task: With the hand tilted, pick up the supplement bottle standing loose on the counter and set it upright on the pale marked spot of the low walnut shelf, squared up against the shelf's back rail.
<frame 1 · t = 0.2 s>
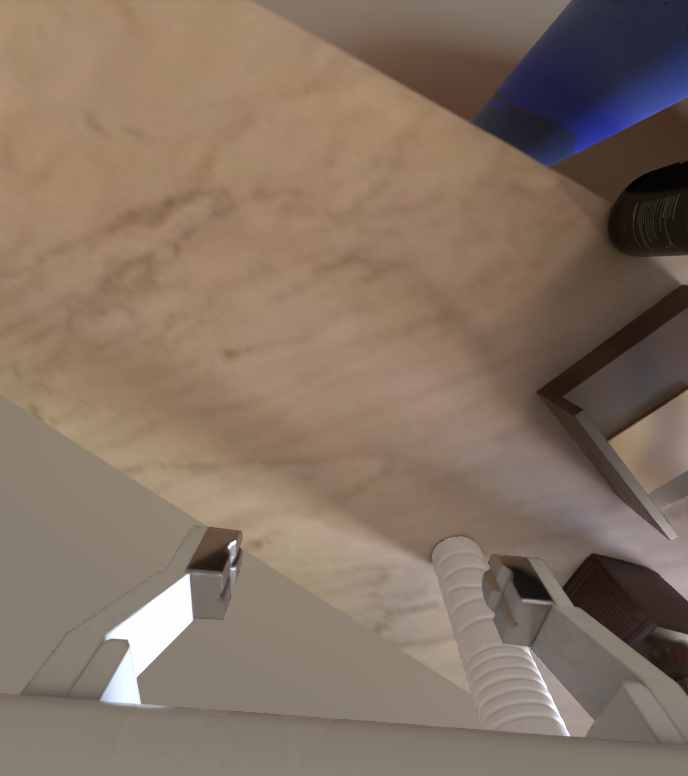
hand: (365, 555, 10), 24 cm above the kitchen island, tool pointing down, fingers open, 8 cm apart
coffee grinder: (615, 591, 45), on the kitchen island
water bottle: (446, 552, 42), on the kitchen island
supplement bottle: (642, 216, 28), on the kitchen island
shelf: (649, 407, 35), on the kitchen island
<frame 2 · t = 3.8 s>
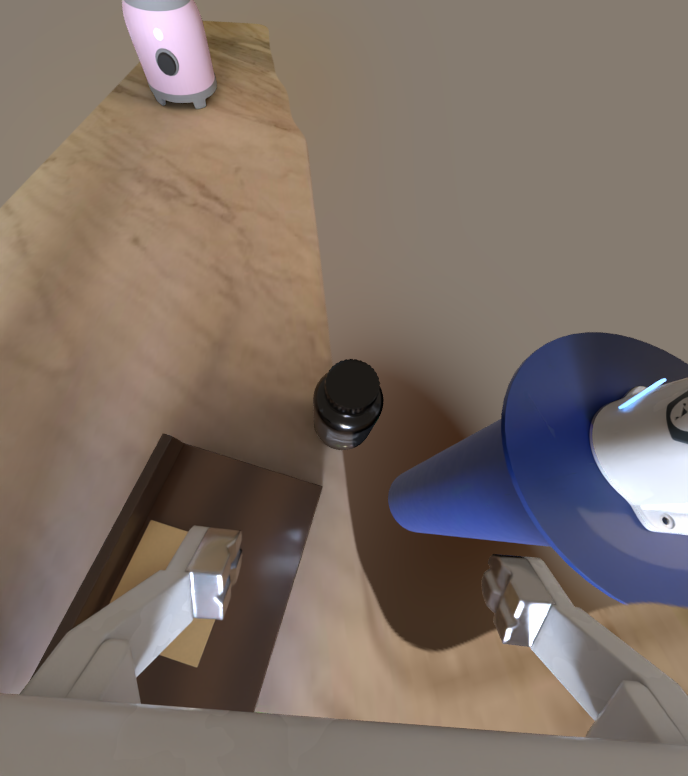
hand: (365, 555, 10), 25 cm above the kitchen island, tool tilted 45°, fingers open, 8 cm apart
supplement bottle: (342, 423, 38), on the kitchen island
blender: (185, 98, 61), on the kitchen island
shelf: (214, 565, 32), on the kitchen island
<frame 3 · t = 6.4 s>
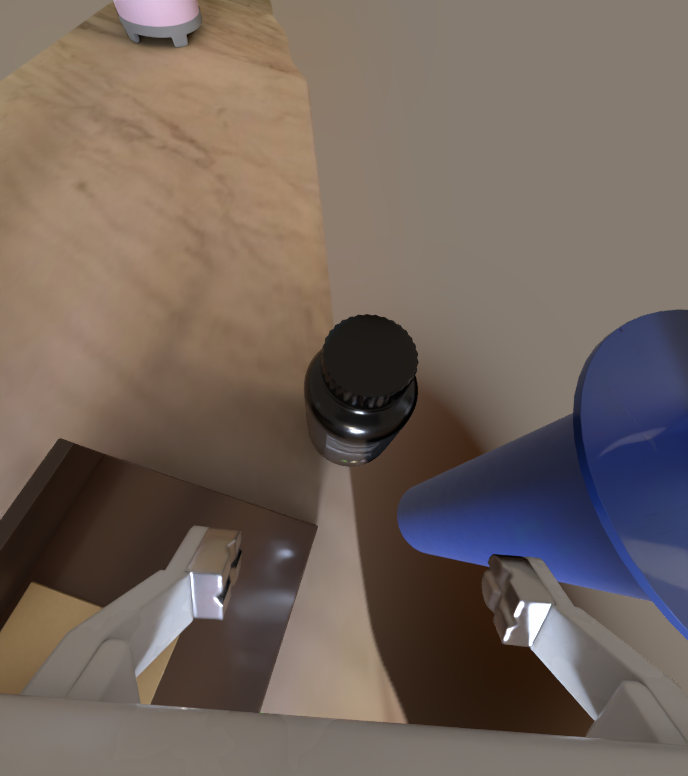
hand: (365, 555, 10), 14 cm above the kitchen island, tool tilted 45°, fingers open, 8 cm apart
supplement bottle: (349, 427, 27), on the kitchen island
blender: (164, 37, 51), on the kitchen island
shelf: (141, 654, 19), on the kitchen island
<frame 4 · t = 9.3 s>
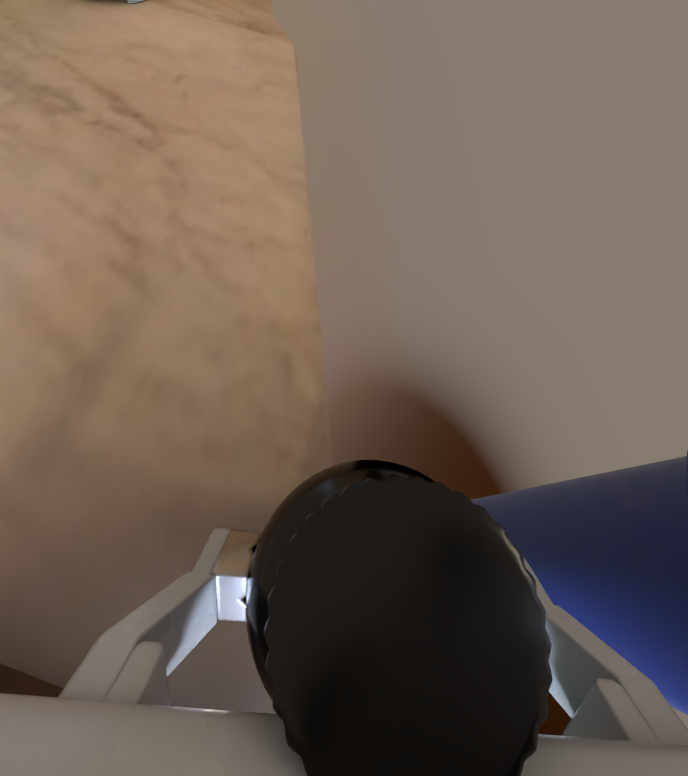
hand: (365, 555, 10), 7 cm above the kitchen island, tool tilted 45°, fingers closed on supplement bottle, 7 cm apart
supplement bottle: (347, 559, 16), on the kitchen island, touching gripper
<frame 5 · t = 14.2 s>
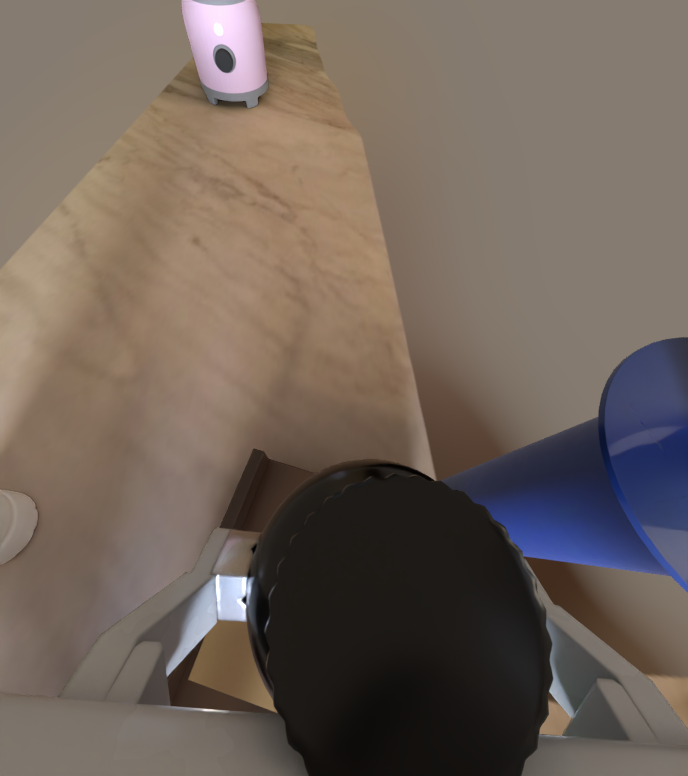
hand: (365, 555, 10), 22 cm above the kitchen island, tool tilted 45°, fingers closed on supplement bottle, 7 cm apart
supplement bottle: (348, 559, 16), point 15 cm above the kitchen island, touching gripper
blender: (236, 97, 59), on the kitchen island
shelf: (305, 598, 28), on the kitchen island
when the fingers open (10 cm above the kitchen island, at t = 19.0 s): supplement bottle stays where it is, resting on shelf.
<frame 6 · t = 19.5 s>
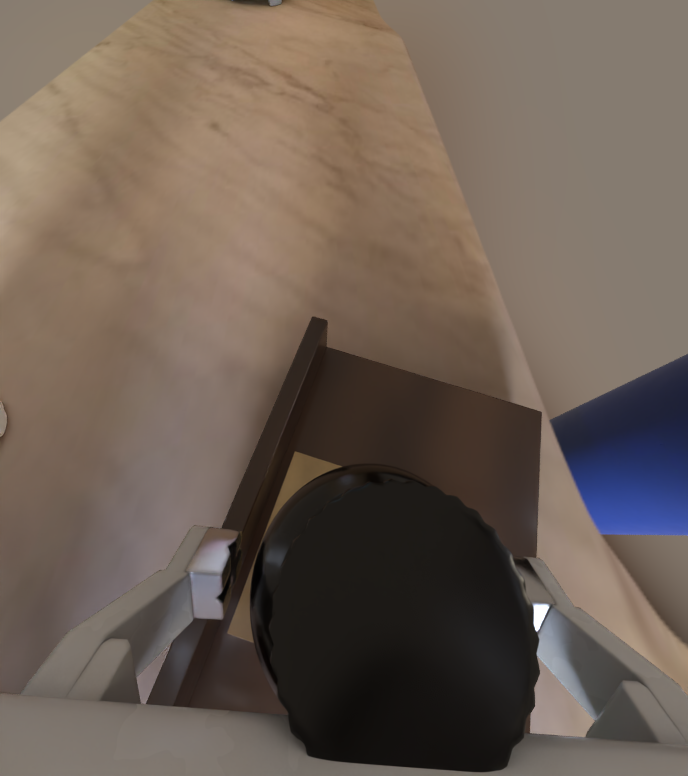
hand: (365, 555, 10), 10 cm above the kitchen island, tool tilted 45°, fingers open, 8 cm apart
supplement bottle: (347, 560, 17), point 3 cm above the kitchen island, touching shelf
shelf: (381, 531, 20), on the kitchen island
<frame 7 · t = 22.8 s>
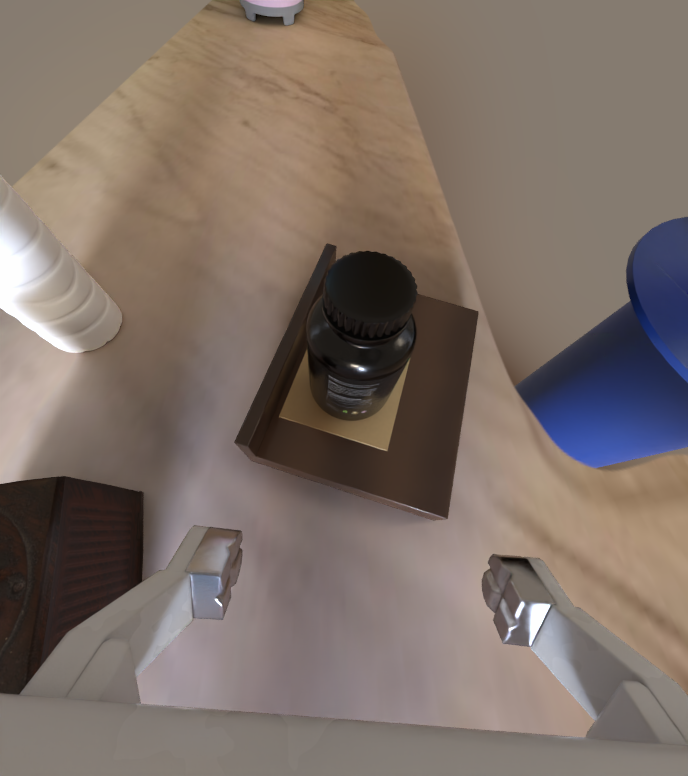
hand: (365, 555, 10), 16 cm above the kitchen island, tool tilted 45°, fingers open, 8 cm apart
coffee grinder: (56, 621, 22), on the kitchen island
water bottle: (85, 318, 31), on the kitchen island
supplement bottle: (349, 385, 27), point 3 cm above the kitchen island, touching shelf
blender: (272, 17, 62), on the kitchen island
shelf: (371, 386, 31), on the kitchen island
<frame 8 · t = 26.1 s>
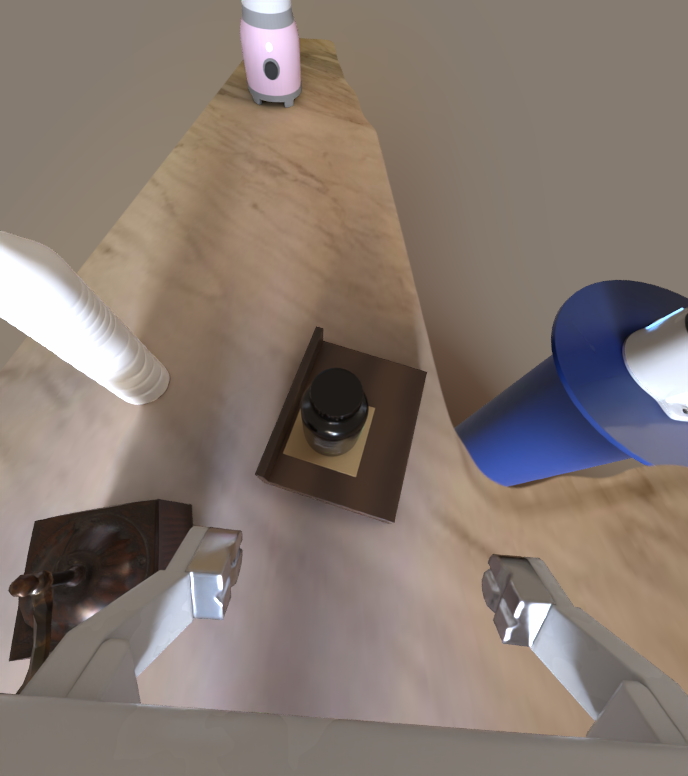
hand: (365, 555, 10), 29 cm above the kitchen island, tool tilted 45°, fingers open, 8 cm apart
coffee grinder: (141, 588, 34), on the kitchen island
water bottle: (143, 377, 44), on the kitchen island
supplement bottle: (331, 430, 39), point 3 cm above the kitchen island, touching shelf
blender: (275, 99, 74), on the kitchen island
shelf: (348, 427, 43), on the kitchen island
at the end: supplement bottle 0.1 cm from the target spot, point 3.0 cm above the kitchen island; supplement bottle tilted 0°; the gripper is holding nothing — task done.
